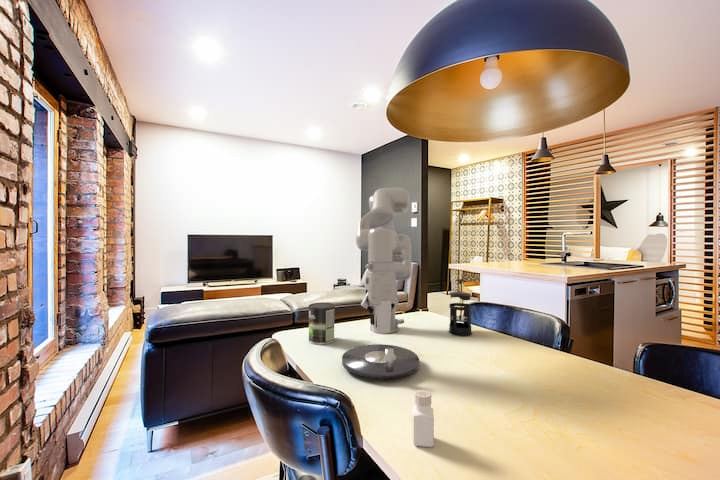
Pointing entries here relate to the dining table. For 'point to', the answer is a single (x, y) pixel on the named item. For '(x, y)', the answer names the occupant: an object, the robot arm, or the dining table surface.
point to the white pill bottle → (423, 420)
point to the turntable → (380, 361)
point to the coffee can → (321, 323)
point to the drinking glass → (382, 317)
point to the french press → (455, 327)
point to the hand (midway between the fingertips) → (380, 325)
